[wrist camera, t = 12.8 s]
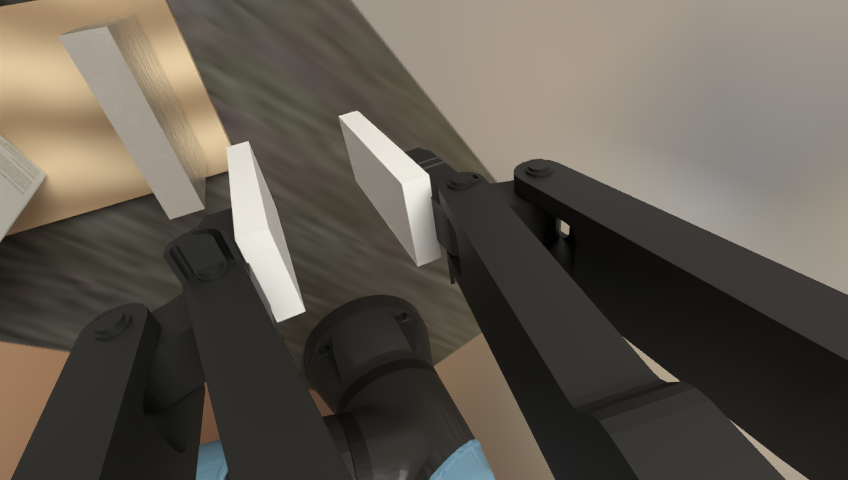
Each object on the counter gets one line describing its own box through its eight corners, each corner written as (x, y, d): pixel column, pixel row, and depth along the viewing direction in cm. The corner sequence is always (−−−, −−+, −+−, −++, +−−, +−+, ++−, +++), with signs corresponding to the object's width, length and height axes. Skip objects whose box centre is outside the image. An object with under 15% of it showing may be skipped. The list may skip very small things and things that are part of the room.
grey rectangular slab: (206, 158, 32) (204, 208, 25) (178, 166, 31) (169, 219, 24) (134, 13, 26) (106, 26, 19) (99, 20, 25) (57, 35, 18)
